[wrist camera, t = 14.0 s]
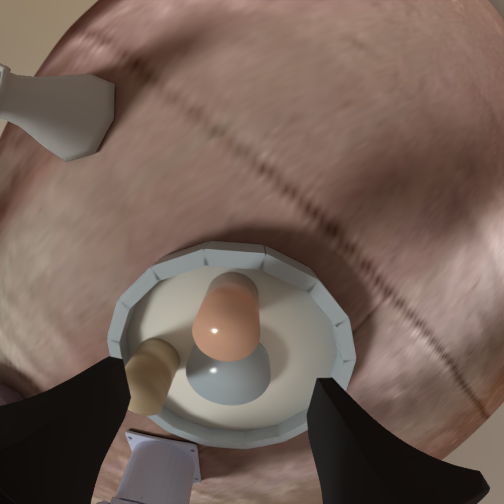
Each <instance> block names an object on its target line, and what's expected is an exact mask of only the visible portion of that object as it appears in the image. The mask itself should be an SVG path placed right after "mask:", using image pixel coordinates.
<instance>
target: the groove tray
mask: <svg viewBox="0 0 504 504" xmlns="http://www.w3.org/2000/svg"><path fill="white" fill-rule="evenodd" d="M226 272H237V273H241V274H244V275H245V276H247V277H249V278H250V279H251V280H252V281H253V282H254V284H255V285H256V287H257V290H258V297H259V317H260V340H259V343H258V345H257V347H256V349H255V350H254V351H253V352H252V353H251V354H250V355H249V356H247V357H245V358H243V359H240V360H237V361H220V360H216V359H213V358H211V357H209V356H207V355H206V354H205V353H203V352H202V351H201V350H200V349H199V348H198V346H197V345H196V343H195V341H194V338H193V334H192V327H193V323H194V320H195V318H196V315H197V313H198V311H199V308H200V306H201V303H202V301H203V299H204V296H205V294H206V292H207V289H208V287H209V285H210V283H211V282H212V280H213V279H214V278H216V277H217V276H219V275H220V274H223V273H226ZM149 338H158V339H162V340H164V341H166V342H168V343H170V344H171V345H172V346H173V347H174V348H175V349H176V351H177V352H178V354H179V358H180V364H179V367H178V369H177V372H176V374H175V377H174V379H173V382H172V384H171V387H170V389H169V392H168V395H167V397H166V400H165V402H164V405H163V407H162V410H161V411H160V412H159V413H158V414H156V415H153V416H147V417H149V418H150V419H151V420H153V421H154V422H155V423H157V424H158V425H159V426H161V427H162V428H163V429H165V430H166V431H168V432H170V433H172V434H175V435H177V436H180V437H182V438H185V439H188V440H190V441H193V442H196V443H199V444H202V445H206V446H211V447H221V448H233V449H250V448H256V447H262V446H267V445H272V444H277V443H282V442H284V441H287V440H289V439H291V438H293V437H295V436H297V435H299V434H301V433H303V432H305V431H307V430H308V426H307V416H306V415H307V411H308V408H309V404H310V401H311V397H312V394H313V390H314V386H315V383H316V379H317V378H330V377H333V378H334V379H335V381H336V382H337V383H338V384H339V385H340V386H341V387H342V388H343V389H344V390H345V391H346V390H347V387H348V384H349V381H350V378H351V375H352V372H353V369H354V365H355V362H356V354H355V348H354V342H353V336H352V331H351V325H350V320H349V317H348V316H347V315H346V313H345V312H344V310H343V309H342V307H341V306H340V305H339V303H338V302H337V301H336V299H335V298H334V297H333V296H332V294H331V293H330V292H329V290H328V289H327V288H326V287H325V285H324V284H323V283H322V282H321V281H320V279H319V278H318V277H317V276H316V274H315V273H314V272H313V271H312V269H310V268H309V267H307V266H305V265H303V264H301V263H299V262H298V261H296V260H294V259H292V258H290V257H288V256H286V255H284V254H282V253H280V252H278V251H276V250H274V249H272V248H270V247H268V246H266V245H262V244H249V243H235V242H222V241H207V242H205V243H202V244H199V245H196V246H193V247H190V248H187V249H184V250H181V251H178V252H175V253H172V254H169V255H166V256H163V257H162V258H161V259H159V260H158V261H157V262H156V263H155V264H153V265H152V266H151V267H150V268H149V269H148V270H147V271H146V272H145V273H144V274H143V275H142V276H141V277H140V278H139V279H138V280H137V281H136V282H135V283H134V284H133V285H132V286H131V287H130V288H129V289H128V290H127V291H126V292H125V293H124V294H123V295H122V296H121V297H120V298H119V299H118V301H117V304H116V307H115V311H114V314H113V318H112V322H111V325H110V329H109V333H108V337H107V341H108V346H109V352H110V356H111V357H116V358H120V359H123V361H124V366H126V365H127V363H128V362H129V360H130V359H131V357H132V356H133V354H134V353H135V351H136V350H137V348H138V347H139V345H140V344H141V343H142V342H143V341H144V340H146V339H149Z"/></svg>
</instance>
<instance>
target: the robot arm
mask: <svg viewBox="0 0 504 504" xmlns="http://www.w3.org/2000/svg"><path fill="white" fill-rule="evenodd" d="M130 400H131V394H130V390H129V385H128V381H127V376H126V371H125V366H124V361H123V359H120V358H116V357H111V356H109V357H107V358H105V359H103V360H101V361H100V362H98V363H96V364H95V365H93V366H91V367H90V368H88V369H86V370H85V371H83V372H81V373H80V374H78V375H76V376H74V377H73V378H71V379H69V380H67V381H65V382H63V383H61V384H60V385H58V386H56V387H54V388H52V389H50V390H48V391H45V392H43V393H41V394H38V395H36V396H33V397H30V398H28V399H24V400H21V401H17V402H13V403H10V404H6V405H1V406H0V504H91V499H92V495H93V491H94V487H95V484H96V480H97V477H98V474H99V471H100V468H101V465H102V463H103V460H104V458H105V456H106V454H107V452H108V450H109V448H110V446H111V444H112V442H113V440H114V438H115V436H116V434H117V432H118V430H119V428H120V426H121V424H122V422H123V420H124V418H125V415H126V412H127V409H128V406H129V403H130ZM306 416H307V426H308V435H309V440H310V444H311V449H312V453H313V457H314V461H315V464H316V468H317V472H318V476H319V480H320V485H321V490H322V499H323V504H477V503H478V502H479V501H480V500H481V499H483V498H484V497H485V495H487V493H488V492H489V490H490V487H489V485H488V484H487V482H486V480H485V479H484V477H483V475H482V474H481V472H480V471H477V470H472V469H468V468H463V467H459V466H456V465H452V464H450V463H447V462H444V461H441V460H439V459H436V458H434V457H432V456H429V455H427V454H425V453H423V452H421V451H419V450H418V449H416V448H414V447H412V446H410V445H409V444H407V443H405V442H404V441H402V440H401V439H399V438H398V437H396V436H395V435H393V434H392V433H391V432H389V431H388V430H387V429H385V428H384V427H383V426H382V425H380V424H379V423H378V422H377V421H376V420H374V419H373V418H372V417H371V416H370V415H369V414H368V413H367V412H366V411H365V410H364V409H362V408H361V407H360V406H359V405H358V404H357V403H356V402H355V401H354V400H353V399H352V397H351V396H350V395H349V394H348V393H347V392H346V391H345V390H344V389H343V388H342V387H341V386H340V385H339V384H338V383H337V382H336V381H335V379H334V378H333V377H330V378H317V379H316V383H315V386H314V390H313V394H312V397H311V401H310V404H309V408H308V411H307V415H306ZM125 434H126V437H127V440H128V443H129V445H130V448H131V450H132V454H131V457H130V459H129V462H128V464H127V467H126V469H125V472H124V474H123V477H122V480H121V482H120V485H119V488H118V490H117V493H116V495H115V497H112V499H111V502H110V503H109V502H107V501H102V502H98V503H97V504H189V502H190V496H191V491H192V485H193V483H195V484H200V483H201V474H200V466H199V457H198V447H197V445H196V444H193V443H187V442H181V441H175V440H169V439H164V438H159V437H154V436H150V435H145V434H141V433H137V432H133V431H129V430H128V431H126V433H125Z"/></svg>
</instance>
